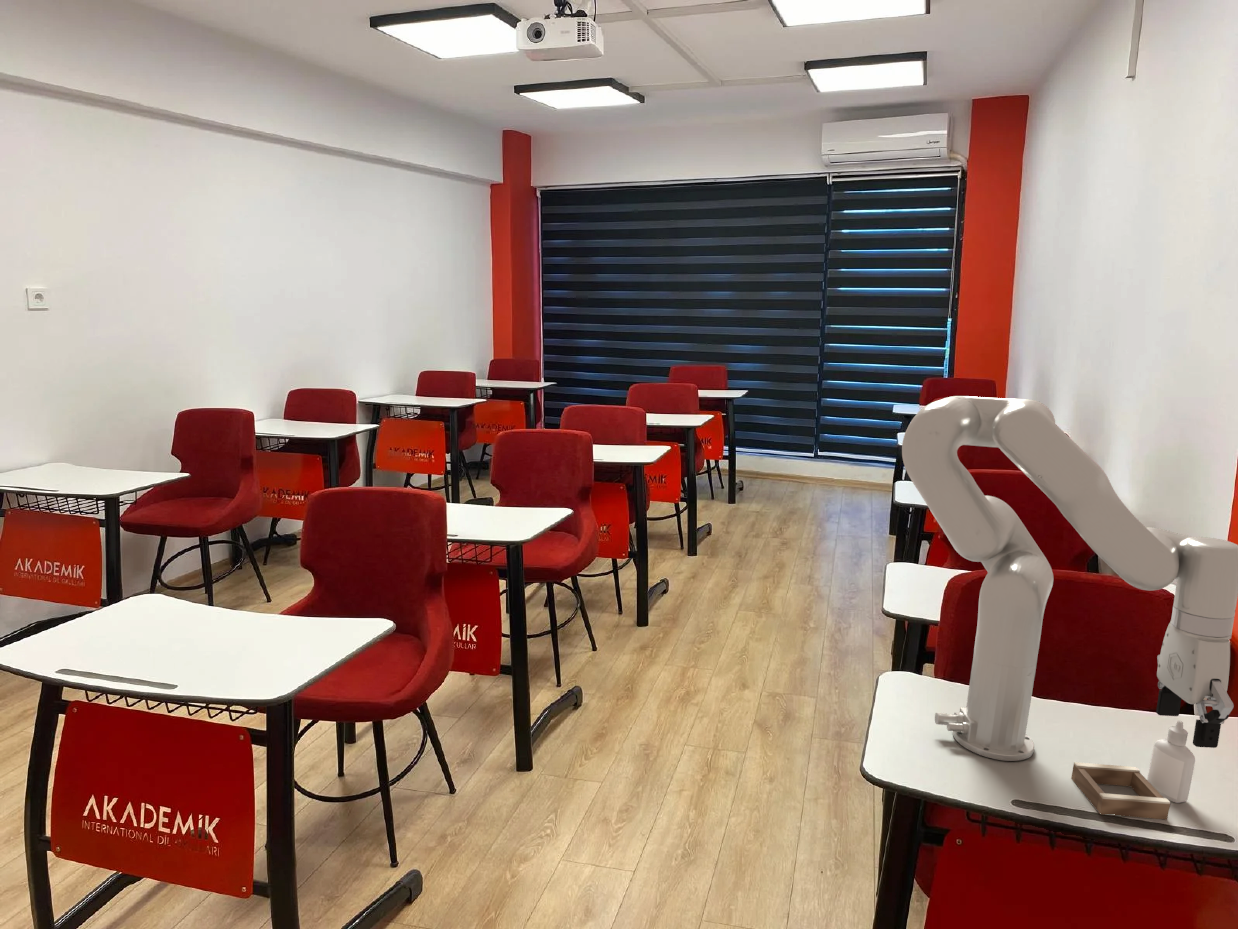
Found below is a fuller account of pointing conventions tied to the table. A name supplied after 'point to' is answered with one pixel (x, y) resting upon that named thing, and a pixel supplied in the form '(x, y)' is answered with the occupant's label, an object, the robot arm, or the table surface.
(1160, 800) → the walnut collar
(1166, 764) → the eye dropper bottle
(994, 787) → the table surface
